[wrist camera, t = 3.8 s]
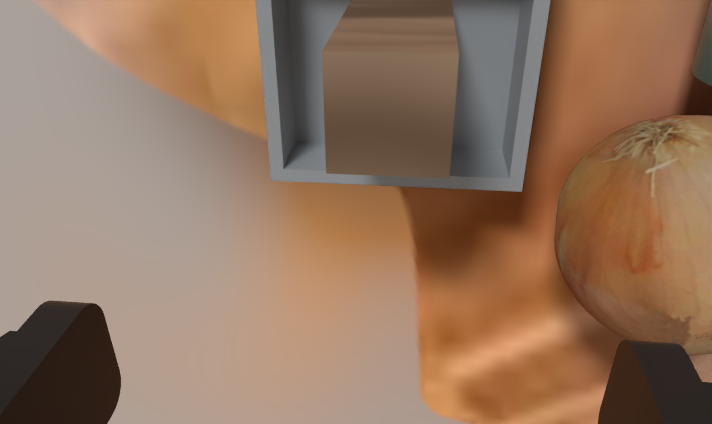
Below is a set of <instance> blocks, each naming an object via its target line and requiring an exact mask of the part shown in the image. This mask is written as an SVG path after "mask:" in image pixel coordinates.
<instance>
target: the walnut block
mask: <svg viewBox="0 0 712 424" xmlns="http://www.w3.org/2000/svg"><path fill="white" fill-rule="evenodd" d="M458 65H459V49H458V42H457V36H456V29H455V22H454V16H453V9H452V2H451V0H351V2H350V3H349V5H348V7H347V9H346V10H345V12H344V14H343V16H342V17H341V19H340V21H339V22H338V24H337V26H336V28H335V29H334V31H333V33H332V35H331V36H330V38H329V40H328V42H327V43H326V45H325V47H324V49H323V50H322V71H323V99H324V128H325V156H326V174H349V175H373V176H396V177H420V178H444V179H449V177H450V165H451V152H452V140H453V127H454V115H455V102H456V90H457V77H458Z"/></svg>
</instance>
